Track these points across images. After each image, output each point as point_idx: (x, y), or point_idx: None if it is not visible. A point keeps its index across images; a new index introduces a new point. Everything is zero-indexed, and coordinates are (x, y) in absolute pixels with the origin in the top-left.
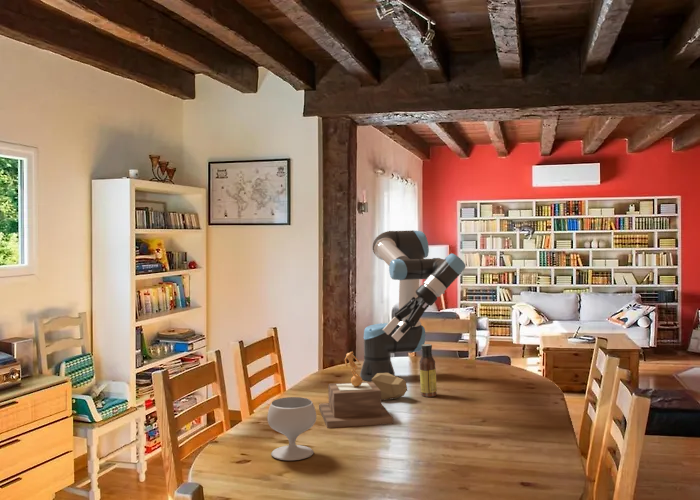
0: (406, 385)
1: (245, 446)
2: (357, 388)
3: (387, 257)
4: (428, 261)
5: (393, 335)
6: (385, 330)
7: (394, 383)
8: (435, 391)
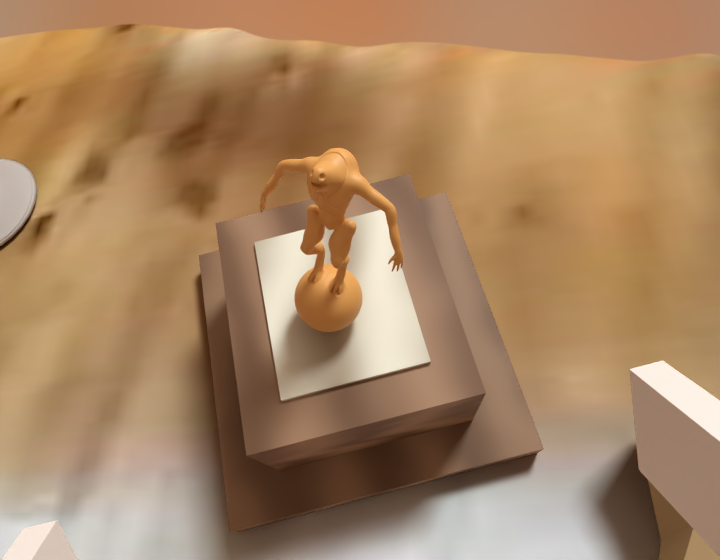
0: None
1: (73, 93)
2: (291, 318)
3: None
4: None
5: (12, 557)
6: (648, 412)
7: (701, 549)
8: None
